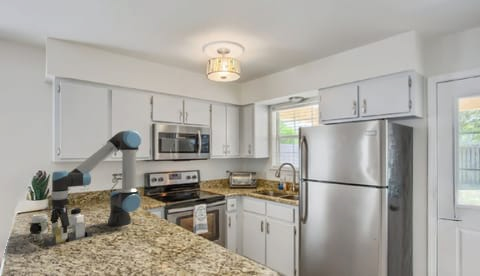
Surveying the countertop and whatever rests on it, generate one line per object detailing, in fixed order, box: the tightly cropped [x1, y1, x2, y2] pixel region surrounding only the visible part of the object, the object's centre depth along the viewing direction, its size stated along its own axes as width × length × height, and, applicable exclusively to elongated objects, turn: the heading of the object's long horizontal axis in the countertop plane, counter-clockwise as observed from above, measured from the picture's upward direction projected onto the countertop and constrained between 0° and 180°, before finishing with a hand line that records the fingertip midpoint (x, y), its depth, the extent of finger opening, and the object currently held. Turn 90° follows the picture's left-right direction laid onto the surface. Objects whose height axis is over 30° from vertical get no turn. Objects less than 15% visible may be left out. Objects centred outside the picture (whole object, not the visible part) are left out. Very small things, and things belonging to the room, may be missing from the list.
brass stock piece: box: [52, 225, 67, 244], centre depth 155 cm, size 5×5×8 cm
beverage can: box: [30, 213, 49, 237], centre depth 171 cm, size 8×8×12 cm
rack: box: [43, 228, 94, 247], centre depth 159 cm, size 22×9×3 cm, turn 143°
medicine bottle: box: [67, 207, 85, 229], centre depth 188 cm, size 7×7×12 cm
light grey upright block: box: [71, 222, 86, 240], centre depth 163 cm, size 5×5×8 cm
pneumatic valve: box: [29, 219, 49, 241], centre depth 160 cm, size 6×12×12 cm, turn 15°
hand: (59, 236), depth 155 cm, fingers open, 13 cm apart
